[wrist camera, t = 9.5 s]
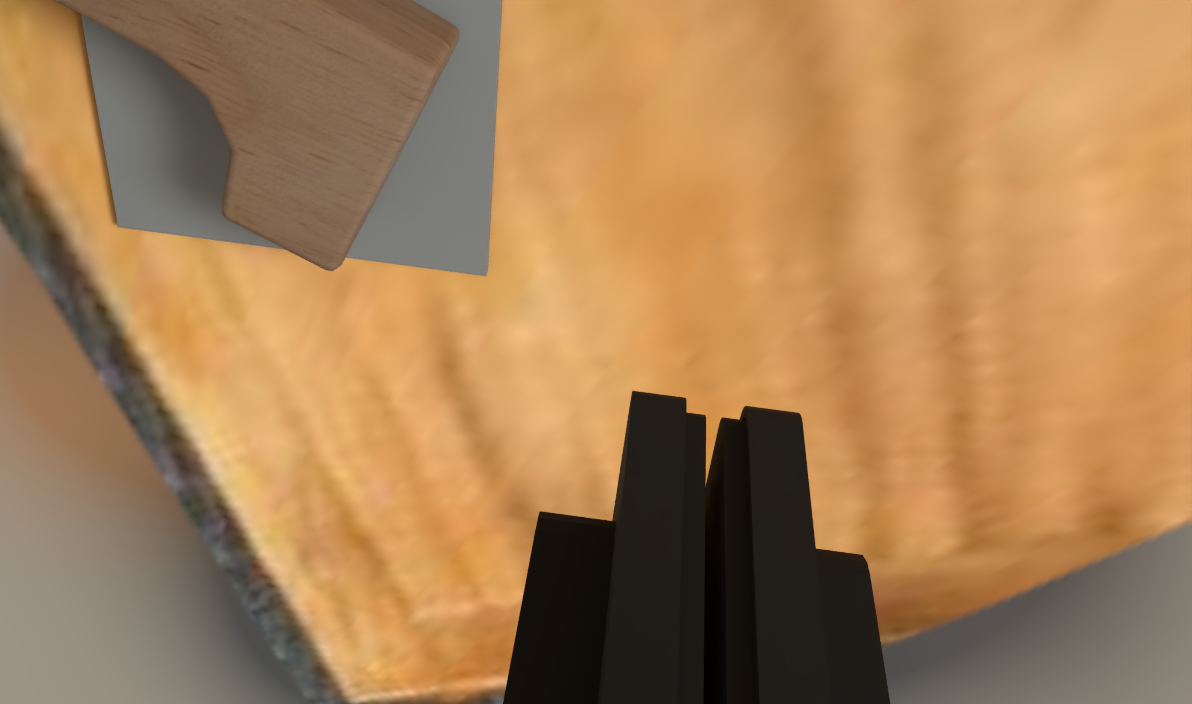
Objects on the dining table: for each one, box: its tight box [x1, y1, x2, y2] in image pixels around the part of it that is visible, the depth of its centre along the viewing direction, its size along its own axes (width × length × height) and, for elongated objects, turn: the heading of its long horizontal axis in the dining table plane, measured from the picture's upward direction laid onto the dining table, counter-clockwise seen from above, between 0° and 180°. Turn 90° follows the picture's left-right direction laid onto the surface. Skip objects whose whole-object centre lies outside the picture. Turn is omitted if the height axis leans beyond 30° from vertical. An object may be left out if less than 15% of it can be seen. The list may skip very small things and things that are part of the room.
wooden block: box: [55, 0, 460, 271], centre depth 36 cm, size 9×4×18 cm
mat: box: [81, 0, 502, 276], centre depth 38 cm, size 15×20×1 cm
